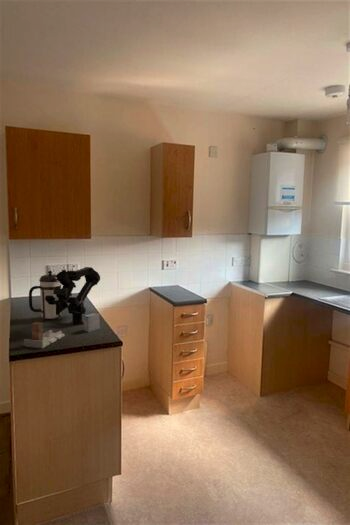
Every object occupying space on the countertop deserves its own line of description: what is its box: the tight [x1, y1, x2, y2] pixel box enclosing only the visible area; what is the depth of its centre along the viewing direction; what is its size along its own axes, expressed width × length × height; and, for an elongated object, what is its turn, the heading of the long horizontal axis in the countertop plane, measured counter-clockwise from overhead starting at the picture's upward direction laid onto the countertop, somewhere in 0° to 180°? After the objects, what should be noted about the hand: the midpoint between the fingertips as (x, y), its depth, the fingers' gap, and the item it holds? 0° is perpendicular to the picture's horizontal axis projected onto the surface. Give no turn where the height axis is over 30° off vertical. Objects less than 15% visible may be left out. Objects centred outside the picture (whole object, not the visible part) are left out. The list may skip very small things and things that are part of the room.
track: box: [23, 329, 65, 349], centre depth 194 cm, size 20×10×4 cm, turn 165°
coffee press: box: [28, 270, 63, 323], centre depth 231 cm, size 17×16×30 cm
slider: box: [31, 321, 44, 341], centre depth 186 cm, size 4×4×10 cm
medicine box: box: [83, 312, 101, 333], centre depth 212 cm, size 8×4×9 cm, turn 141°
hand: (56, 314), depth 203 cm, fingers closed
